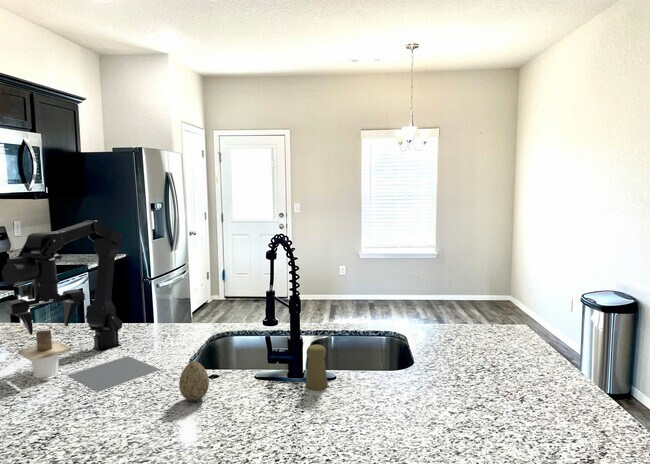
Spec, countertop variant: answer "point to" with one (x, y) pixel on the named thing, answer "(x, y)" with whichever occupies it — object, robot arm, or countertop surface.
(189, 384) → the decorative egg
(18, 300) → the robot arm
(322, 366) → the cork
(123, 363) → the mat
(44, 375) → the white round cup
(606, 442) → the countertop surface
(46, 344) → the lid
